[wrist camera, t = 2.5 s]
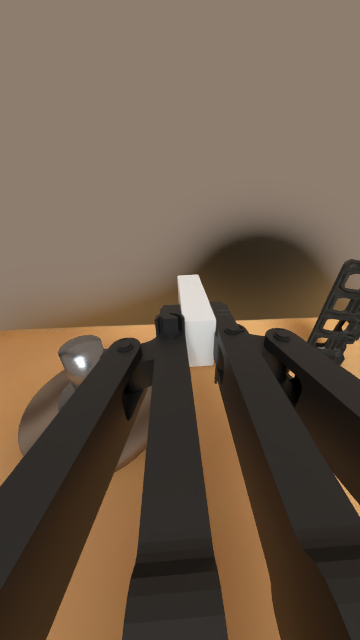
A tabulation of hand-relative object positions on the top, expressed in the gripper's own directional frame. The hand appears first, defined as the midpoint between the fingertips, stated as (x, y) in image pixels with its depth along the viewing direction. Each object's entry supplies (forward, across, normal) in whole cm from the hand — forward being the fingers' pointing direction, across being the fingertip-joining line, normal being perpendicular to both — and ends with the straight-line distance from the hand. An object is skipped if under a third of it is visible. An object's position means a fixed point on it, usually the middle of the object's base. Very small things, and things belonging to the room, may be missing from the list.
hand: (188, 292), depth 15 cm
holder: (+13, +25, -21) cm, 36 cm away
